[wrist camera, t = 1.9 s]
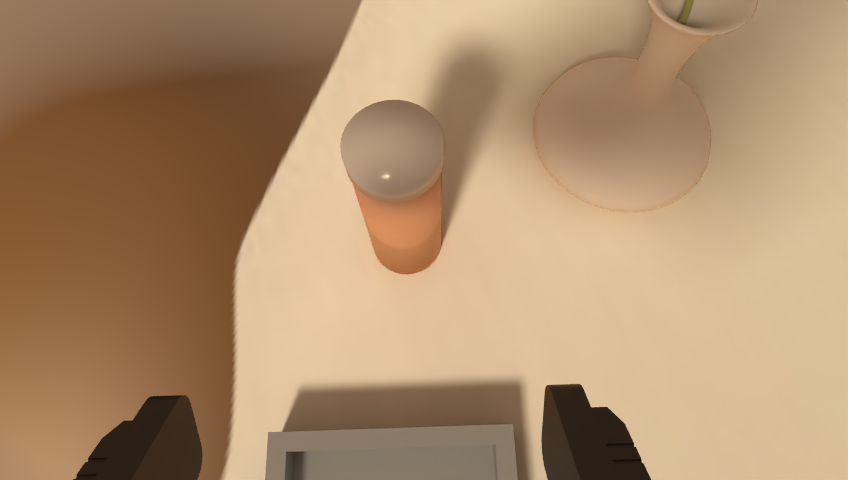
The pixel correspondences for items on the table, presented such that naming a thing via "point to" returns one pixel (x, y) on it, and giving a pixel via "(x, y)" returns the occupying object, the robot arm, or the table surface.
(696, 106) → the flower in vase
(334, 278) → the table surface
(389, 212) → the shaker
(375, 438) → the tray
